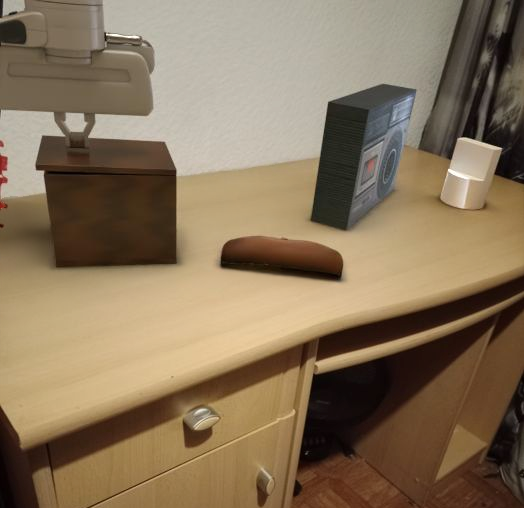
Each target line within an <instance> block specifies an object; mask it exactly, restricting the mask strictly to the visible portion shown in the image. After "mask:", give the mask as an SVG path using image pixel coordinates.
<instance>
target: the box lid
mask: <svg viewBox="0 0 524 508" xmlns="http://www.w3.org/2000/svg"><path fill="white" fill-rule="evenodd" d="M88 139H89V149H84V148H67V147H66V139H65V135H64V136H63V135H62V136H61V135H45V134H44V135H43V134H42V135H41V139H40V143H39V147H38V151H37V155H36V159H35V164H34V166H35V171H37V172H39V171H40V172H44V171H65V172H93V173H121V174H149V175H176V176H177V175H178V174H177V173H178V170H177V168H176V165H175V161H174V160H173V158H172V155H171V153H170V150H169V148H168V146H167V143H166V141H162V140H161V141H159V140H158V141H157V140H139V139H138V140H137V139H119V138H100V137H88Z"/></svg>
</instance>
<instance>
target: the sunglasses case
mask: <svg viewBox="0 0 524 508" xmlns="http://www.w3.org/2000/svg"><path fill="white" fill-rule="evenodd" d="M221 264H234V265H256V266H263V265H264V266H265V265H266V266H270V267H277V268H278V267H279V268H284V269H285V268H286V269H295V270H296V269H297V270H302V271H308V272H309V271H311V272H317V273H325V274H332V275H339V277H340V278H342V276H343V269H344V260H343V256H342V254H341V252H339V251H338V250H337V249H334V248H332V247H330V246H327V245H324V244H322V243H319V242H316V241H310V240H304V239H289V238H287V237H280V238H279V237H275V236H267V235H266V236H265V235H247V236H242V237H241V236H240V237H236V238H231V239H229V240H227V241H225V242H224V244H223V246H222V250H221V253H220V265H221Z"/></svg>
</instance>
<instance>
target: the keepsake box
mask: <svg viewBox="0 0 524 508" xmlns="http://www.w3.org/2000/svg"><path fill="white" fill-rule="evenodd" d="M177 179H178V178H177V175H149V174H106V173H86V172H65V171H43V182H44V188H45V189H44V190H45V196H46V204H47V211H48V218H49V223H50V225H49V226H50V233H51V239H52V246H53V253H54V261H55V267H56V268H67V267H68V268H69V267H99V266H100V267H102V266H129V265H130V266H132V265H134V266H135V265H160V264H161V265H165V264H177V243H178V242H177V241H178V240H177V235H178V234H177V233H178V232H177V230H178V229H177V227H178V226H177V224H178V223H177V222H178V221H177V219H178V217H177V213H178V211H177V209H178V208H177V200H178V199H177V195H178V193H177V190H178V189H177V187H178V186H177V185H178V183H177V182H178V181H177Z"/></svg>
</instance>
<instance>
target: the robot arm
mask: <svg viewBox="0 0 524 508" xmlns="http://www.w3.org/2000/svg"><path fill="white" fill-rule="evenodd" d="M23 2H24V8H23V10H19V11H17V10H16V11H15V10H14V11H10V12H9V13H8V14H5V15H1V16H2V18H0V29H1V47H0V111H18V112H19V111H20V112H40V113H41V112H42V113H53V119H54V123H55V124H56V125H57V127H58V128H59V130H60V131H61V133H62V134H63V135H64V136H65V139H66V147H67V148H84V149H89V139H88V138H89V136H90V134H91V133H92V130H93V129H94V127H95V125H96V115H109V116H111V115H113V116H132V117H133V116H134V117H148V116H150V114H151V113H152V112H153V110H154V94H153V86H152V85H153V84H152V80H151V79H152V78H151V74H152V73H153V72H154V70H155V65H156V61H155V59H156V57H155V56H156V55H155V49H154V47H153V46H152V44H151V43H150V42H149V41H148V40H146V39H143V36H141V35H138V34H131V35H128V34H122V33H117V32H116V33H114V32H106V30H105V15H104V14H105V13H104V1H103V0H23ZM143 44H145V45H143ZM67 114H83V121H84V122H85V123H86V125H85V127H84V128H83V130H82V131H71V130H70V128H69V127H68V125H67V124H66V120H67Z"/></svg>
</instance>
